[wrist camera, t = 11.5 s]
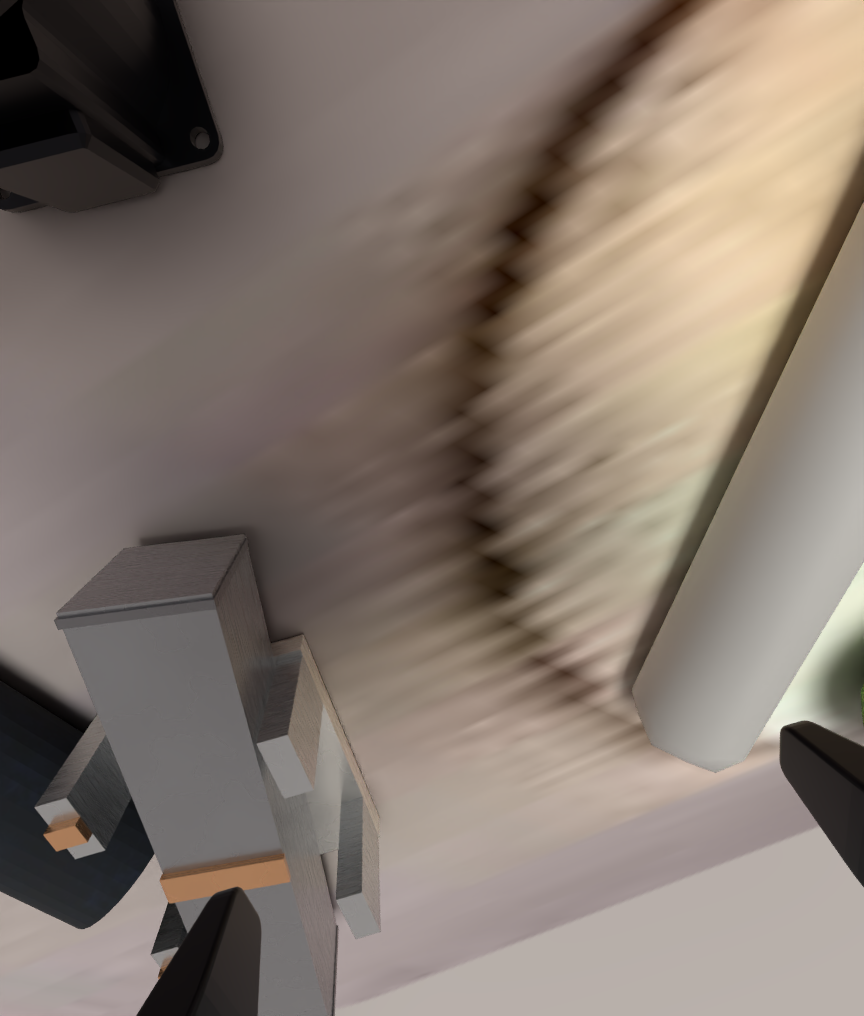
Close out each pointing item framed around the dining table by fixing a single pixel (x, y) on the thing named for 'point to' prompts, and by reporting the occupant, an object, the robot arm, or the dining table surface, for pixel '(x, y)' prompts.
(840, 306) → the tube
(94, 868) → the pipe connector
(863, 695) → the avocado
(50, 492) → the dining table surface
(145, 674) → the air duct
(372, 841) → the collar rail
